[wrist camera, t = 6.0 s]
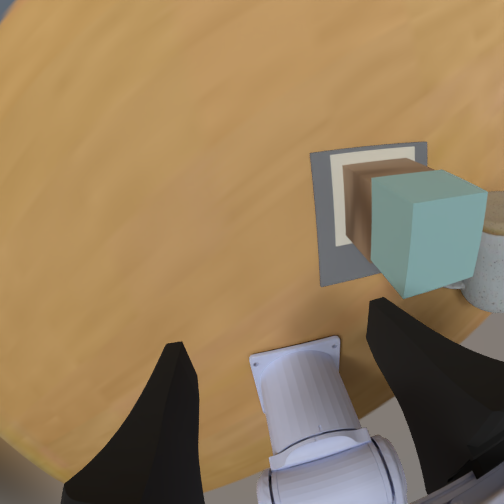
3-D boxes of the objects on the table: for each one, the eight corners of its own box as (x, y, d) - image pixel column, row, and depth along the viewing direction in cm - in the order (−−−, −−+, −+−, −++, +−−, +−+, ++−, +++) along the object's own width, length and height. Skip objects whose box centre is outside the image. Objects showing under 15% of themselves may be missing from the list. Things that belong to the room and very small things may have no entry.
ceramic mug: (499, 178, 21) (559, 211, 14) (497, 251, 25) (544, 291, 18) (413, 215, 22) (475, 265, 15) (419, 293, 26) (464, 348, 19)
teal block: (435, 244, 18) (472, 276, 14) (370, 259, 18) (403, 298, 14) (442, 169, 15) (487, 191, 12) (371, 177, 15) (413, 203, 12)
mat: (419, 261, 24) (420, 262, 23) (320, 285, 23) (321, 287, 23) (425, 141, 19) (428, 142, 19) (309, 153, 19) (311, 154, 18)
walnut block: (405, 223, 21) (435, 247, 18) (345, 235, 21) (370, 263, 18) (406, 157, 19) (441, 173, 16) (342, 165, 19) (370, 182, 15)
